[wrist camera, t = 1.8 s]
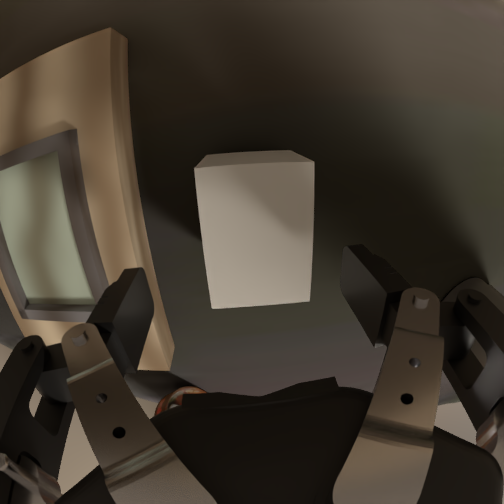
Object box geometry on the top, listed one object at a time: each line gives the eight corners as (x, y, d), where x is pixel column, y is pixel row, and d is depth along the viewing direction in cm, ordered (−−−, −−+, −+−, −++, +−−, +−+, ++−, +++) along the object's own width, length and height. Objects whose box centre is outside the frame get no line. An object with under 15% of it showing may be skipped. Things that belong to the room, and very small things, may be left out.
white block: (286, 148, 17) (314, 161, 11) (287, 247, 20) (309, 301, 14) (208, 153, 17) (194, 168, 11) (218, 252, 20) (211, 308, 14)
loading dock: (127, 39, 13) (104, 22, 10) (174, 346, 24) (167, 379, 20) (-15, 102, 13) (-45, 106, 9) (48, 340, 23) (33, 365, 20)
